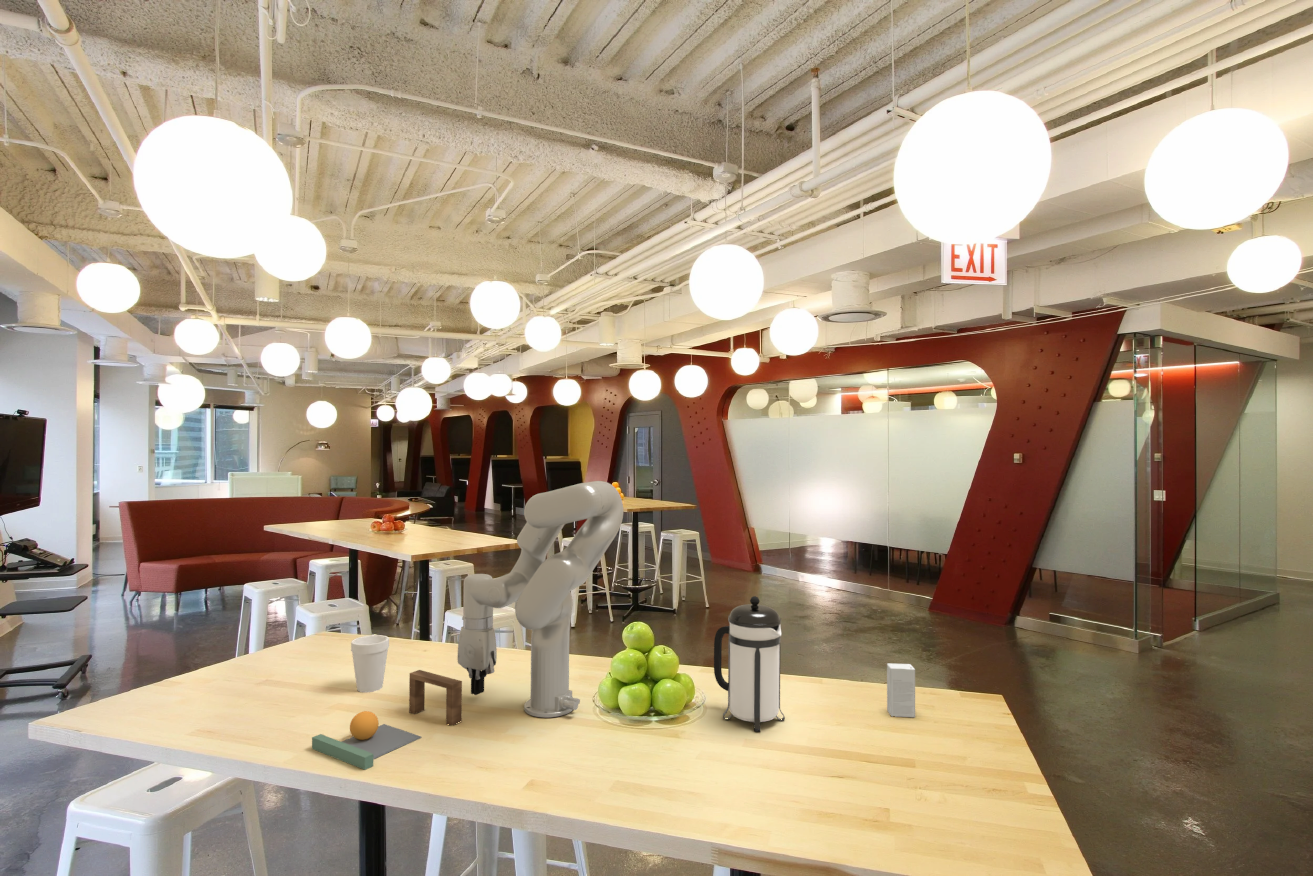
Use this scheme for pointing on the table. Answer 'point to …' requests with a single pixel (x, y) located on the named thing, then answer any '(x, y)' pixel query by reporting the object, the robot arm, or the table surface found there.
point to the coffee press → (751, 663)
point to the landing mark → (383, 740)
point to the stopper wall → (342, 751)
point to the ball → (364, 725)
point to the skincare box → (901, 690)
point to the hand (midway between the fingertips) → (477, 692)
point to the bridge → (451, 685)
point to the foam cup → (369, 661)
